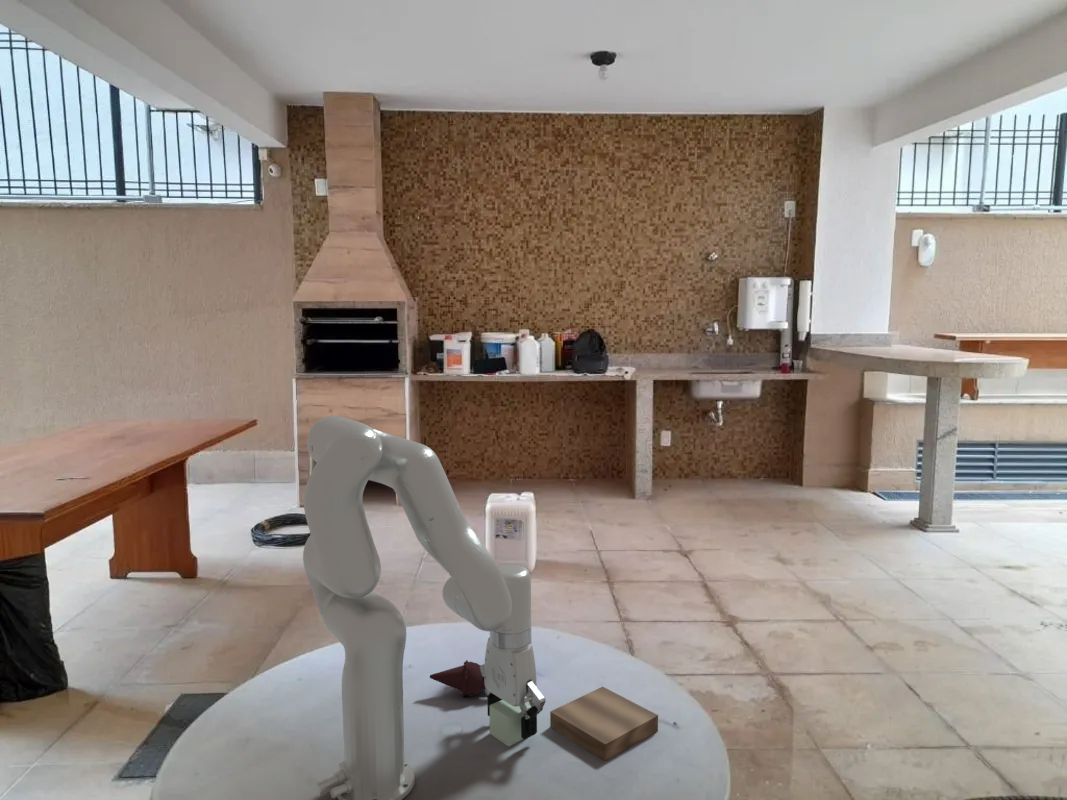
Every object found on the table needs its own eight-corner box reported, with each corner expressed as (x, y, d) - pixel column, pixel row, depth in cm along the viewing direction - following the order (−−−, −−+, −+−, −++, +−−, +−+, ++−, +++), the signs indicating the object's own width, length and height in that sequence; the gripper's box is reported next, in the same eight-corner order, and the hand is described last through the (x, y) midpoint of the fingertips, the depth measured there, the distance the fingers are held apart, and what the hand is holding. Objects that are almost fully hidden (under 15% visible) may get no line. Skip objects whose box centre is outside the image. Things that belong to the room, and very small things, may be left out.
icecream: (428, 675, 143) (505, 680, 144) (432, 649, 150) (505, 654, 150) (426, 703, 145) (502, 707, 146) (430, 676, 152) (503, 681, 153)
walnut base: (605, 760, 126) (605, 744, 125) (550, 726, 136) (550, 711, 136) (657, 730, 135) (658, 715, 134) (602, 700, 145) (602, 686, 145)
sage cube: (508, 746, 130) (508, 717, 129) (489, 733, 134) (489, 705, 134) (532, 735, 134) (532, 706, 133) (513, 722, 138) (512, 695, 137)
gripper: (465, 625, 136) (467, 713, 138) (526, 658, 123) (527, 753, 125) (497, 614, 141) (498, 699, 143) (558, 644, 128) (559, 737, 130)
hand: (511, 724), depth 134 cm, fingers open, 9 cm apart
